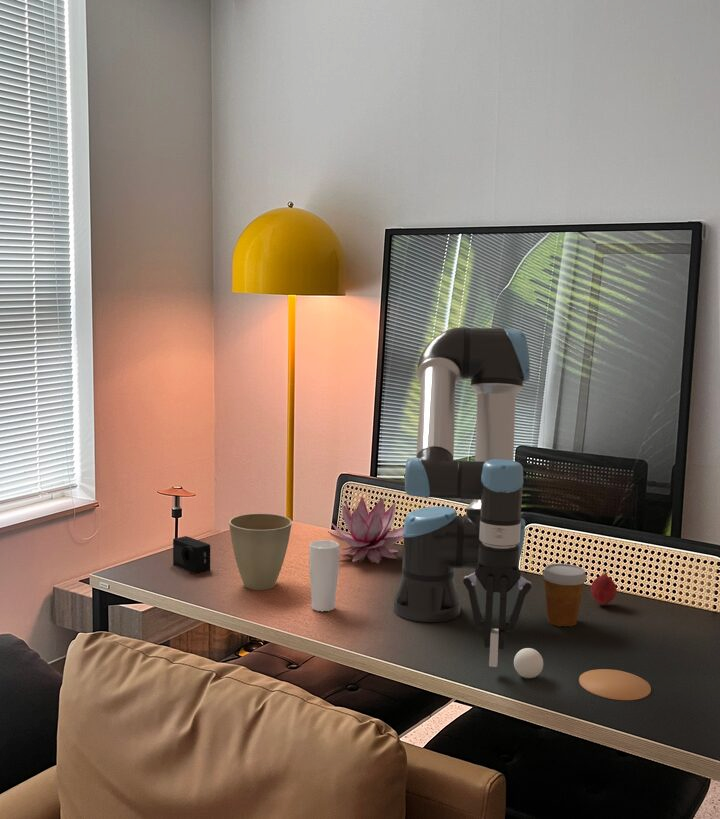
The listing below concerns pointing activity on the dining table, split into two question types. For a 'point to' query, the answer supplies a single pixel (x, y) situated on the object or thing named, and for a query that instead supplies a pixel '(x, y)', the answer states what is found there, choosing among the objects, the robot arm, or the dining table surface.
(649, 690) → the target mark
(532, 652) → the ball
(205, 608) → the dining table surface
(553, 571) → the disposable coffee cup
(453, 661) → the dining table surface
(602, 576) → the red bumpy oval piece
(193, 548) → the digital camera
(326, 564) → the drinking glass
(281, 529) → the plant pot
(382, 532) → the decorative flower
